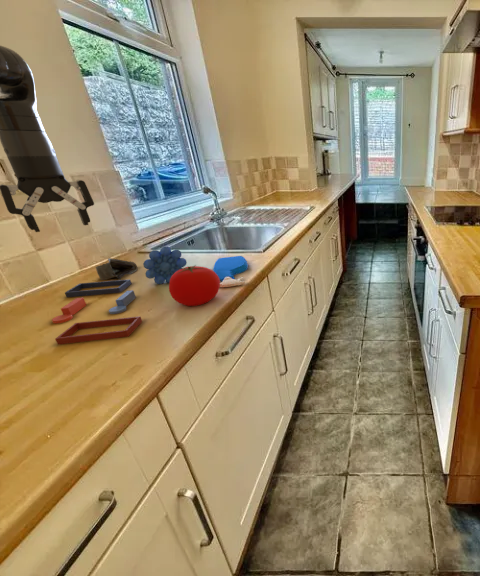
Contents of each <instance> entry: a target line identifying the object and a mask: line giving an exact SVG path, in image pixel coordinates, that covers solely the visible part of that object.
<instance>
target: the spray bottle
mask: <svg viewBox="0 0 480 576" xmlns="http://www.w3.org/2000/svg"><path fill="white" fill-rule="evenodd" d="M248 267H249V264H248V261H247V259H246V258H245V257H244V256H242V255H235V256H226V257H219V258H217V259H216V261H215V263H214V265H213V269H212V270H213V271H214V272H215V273H216V274H217V275H218V277H219V279H220V287H219V288H228V287H229V288H230V287H236V286H242V285H246V281H245V280H243V279H244V277H243V276H241V277H239V278H237V279H236V278H235V275H239V274H242V273H244V272H246V271H247V270H248Z"/></svg>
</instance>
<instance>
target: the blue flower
mask: <svg viewBox="0 0 480 576" xmlns="http://www.w3.org/2000/svg"><path fill="white" fill-rule="evenodd" d="M148 257H149V258H147V259H146V260H144V261H143V264H142V265H143V268H144V269H146V270H145V273H144V274H145V277H146V278H147V279H149V280H150V279H151V280H152V279H153V281H154V283H155V284H156V285H161V284H163V283H165V282H166V283H167V284H169V282H170V278H171V276H172V275H173V274H174V273H175V272H176V271H178V270H180V268H185V267H186V266H187V259H185V257H182V251H181V250H179V249H173V250H172V248H171V247H169V246H162V247H161V248H160V250H157V249H156V250H152V251H150V252H149V253H148Z"/></svg>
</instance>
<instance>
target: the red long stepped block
mask: <svg viewBox="0 0 480 576" xmlns="http://www.w3.org/2000/svg"><path fill="white" fill-rule="evenodd" d="M86 306H87V302H86V300H85V298H84V297H75V298H74V299H73V300H71V301H70V302H69V303H67V304H65V305H64V306H62V307H61V308H60V310H61V311H60V312H61V313H62V314H60V315H57V316H55V317H53V318H52V319H51V321H52V323H53V324H63V323H66V322H69V321H71V320H72V319H73V318H74V315H76V314H77V313H78V312H79V311H81V310H83V308H85V307H86Z"/></svg>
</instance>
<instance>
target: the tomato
mask: <svg viewBox="0 0 480 576" xmlns="http://www.w3.org/2000/svg"><path fill="white" fill-rule="evenodd" d="M220 283H221V280H220V279H219V277H218V275H217V274H216V273H215V272H214V270H213V269H211V268H208V267H205V266H199V265H198V266H197V264H194V265H191V266H190V265H189V266H184V267H181V268H180V270H178V271H176V272H175V273H174V274H173V275H172V276H171V278H170V282H169V283H168V292H169V294H170V296H171V298H172V299H174V301H175V302H177V303H178V304H180V305H184V306H187V307H197V306H201V305H205V304H207V303H209V302H210V301H211V300H212V299H214V298H215V297H216V296H217V295H218V292H219V290H220V288H221V287H220Z"/></svg>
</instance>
